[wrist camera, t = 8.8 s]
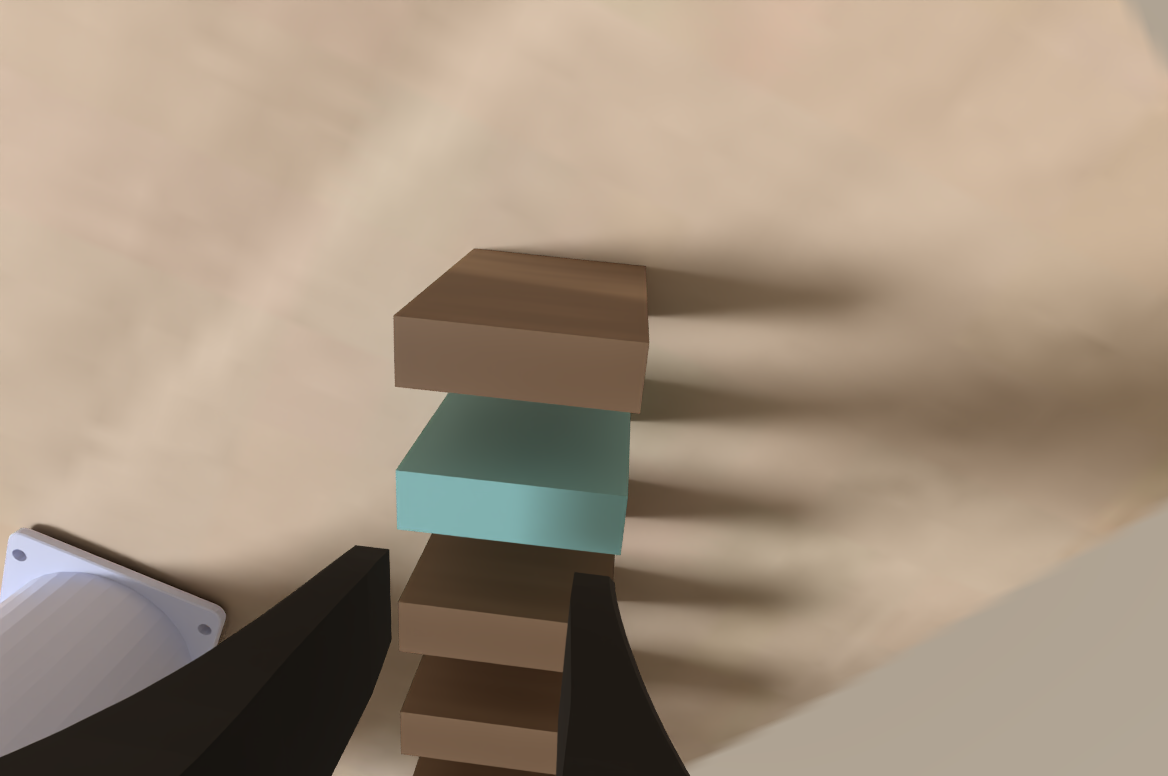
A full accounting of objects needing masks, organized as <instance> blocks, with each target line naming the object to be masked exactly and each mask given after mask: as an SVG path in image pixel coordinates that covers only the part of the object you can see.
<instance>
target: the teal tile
mask: <svg viewBox="0 0 1168 776" xmlns="http://www.w3.org/2000/svg"><path fill="white" fill-rule="evenodd" d="M630 415H631V413H629V412H620V411H611V410H602V409H593V408H583V407H574V406H565V405H556V404H547V403H538V402H529V401H520V400H511V399H502V398H493V397H484V396H475V395H466V394H457V393H448V394H447V396H446V397H445V399H444V400H443V402H442V403H441V405H440V406H439V408H438V409H437V411H436V412H435V413H434V415H433V416H432V418H431V419H430V421H429V422H428V424H427V425H426V427H425V428H424V430H423V431H422V433H421V434H420V436H419V437H418V438H417V440H416V441H415V443H414V444H413V446H412V447H411V449H410V450H409V452H408V453H407V455H406V456H405V458H404V459H403V460H402V462H401V463H400V465H399V466H398V468H397V469H396V499H397V529H400V530H409V531H417V532H426V533H434V534H443V535H452V536H460V537H469V538H477V539H486V540H494V541H503V542H512V543H520V544H529V545H537V546H546V547H555V548H563V549H572V550H580V551H589V552H597V553H606V554H615V555H621V548H622V540H623V532H624V524H625V516H626V508H627V500H628V479H629V447H630Z"/></svg>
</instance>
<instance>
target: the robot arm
mask: <svg viewBox="0 0 1168 776" xmlns="http://www.w3.org/2000/svg"><path fill="white" fill-rule="evenodd" d="M225 620H226V614H225V612H224V610H223V609H222V608H221V607H220V606H218V605H217V604H214V603H212V602H209V601H207V600H204V599H202V598H199V597H197V596H195V595H192V594H190V593H187V592H185V591H182V590H180V589H177V588H175V587H172V586H170V585H167V584H165V583H163V582H160V581H158V580H155V579H153V578H150V577H148V576H145V575H143V574H140V573H138V572H135V571H133V570H131V569H128V568H126V567H123V566H121V565H118V564H116V563H113V562H111V561H108V560H106V559H103V558H101V557H98V556H96V555H94V554H91V553H89V552H86V551H84V550H81V549H79V548H76V547H74V546H71V545H69V544H66V543H64V542H62V541H59V540H57V539H54V538H52V537H49V536H47V535H44V534H42V533H39V532H37V531H34V530H32V529H28V528H20V529H19V530H17V531H16V532H14V533H13V534H11V535H10V537H9V539H8V546H7V553H6V560H5V567H4V573H3V580H2V587H1V594H0V776H332V774H333V772H334V770H335V768H336V766H337V764H338V762H339V760H340V758H341V756H342V754H343V752H344V750H345V748H346V746H347V744H348V742H349V740H350V738H351V736H352V734H353V732H354V730H355V728H356V726H357V724H358V722H359V720H360V718H361V716H362V714H363V712H364V710H365V708H366V705H367V703H368V701H369V699H370V697H371V695H372V693H373V690H374V687H375V685H376V682H377V679H378V677H379V674H380V671H381V668H382V666H383V663H384V660H385V657H386V654H387V651H388V648H389V645H390V643H391V601H390V562H389V549H382V548H373V547H365V546H357V545H355V546H354V547H353V548H351V549H350V550H349V551H347V552H346V553H345V554H343V555H342V556H341V557H339V558H338V559H337V560H335V561H334V562H333V563H331V564H330V565H329V566H327V567H326V568H325V569H323V570H322V571H321V572H319V573H318V574H317V575H315V576H314V577H313V578H312V579H310V580H309V581H308V582H306V583H305V584H304V585H302V586H301V587H300V588H298V589H297V590H296V591H294V592H293V593H292V594H290V595H289V596H288V597H286V598H285V599H283V600H282V601H281V602H279V603H278V604H277V605H275V606H274V607H273V608H271V609H270V610H268V611H267V612H266V613H264V614H263V615H262V616H260V617H259V618H257V619H256V620H254V621H253V622H251V623H250V624H248V625H247V626H245V627H244V628H242V629H241V630H239V631H238V632H236V633H235V634H233V635H232V636H230V637H229V638H227V639H226V640H224V641H223V642H222V643H220V644H219V645H217V644H218V641H219V638H220V635H221V632H222V629H223V626H224V623H225ZM208 626H209V627H208ZM556 776H690V775H689V773H688V771H687V770H686V768H685V766H684V764H683V763H682V761H681V759H680V757H679V755H678V753H677V752H676V750H675V748H674V746H673V744H672V742H671V740H670V739H669V737H668V735H667V733H666V731H665V729H664V727H663V725H662V722H661V720H660V718H659V716H658V714H657V712H656V710H655V708H654V705H653V703H652V701H651V699H650V696H649V694H648V692H647V690H646V687H645V685H644V682H643V680H642V678H641V675H640V672H639V670H638V667H637V664H636V662H635V659H634V656H633V654H632V651H631V648H630V645H629V642H628V639H627V636H626V633H625V630H624V626H623V623H622V619H621V616H620V612H619V608H618V603H617V598H616V592H615V583H614V581H613V580H612V579H611V578H610V577H609V576H603V575H595V574H587V573H578V572H574V578H573V584H572V590H571V597H570V606H569V616H568V625H567V635H566V645H565V655H564V665H563V675H562V685H561V695H560V704H559V714H558V734H557V761H556Z"/></svg>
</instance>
